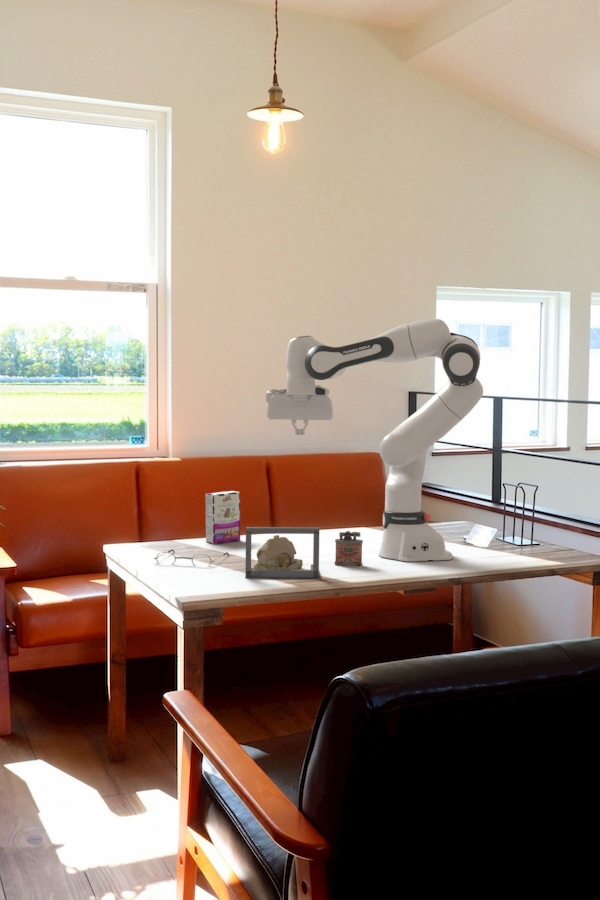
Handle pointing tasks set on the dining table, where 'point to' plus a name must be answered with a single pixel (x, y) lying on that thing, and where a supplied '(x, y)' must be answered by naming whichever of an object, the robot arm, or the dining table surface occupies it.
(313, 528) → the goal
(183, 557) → the eyeglasses
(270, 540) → the ceramic model
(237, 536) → the candy bar box
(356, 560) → the lighter
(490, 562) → the dining table surface
